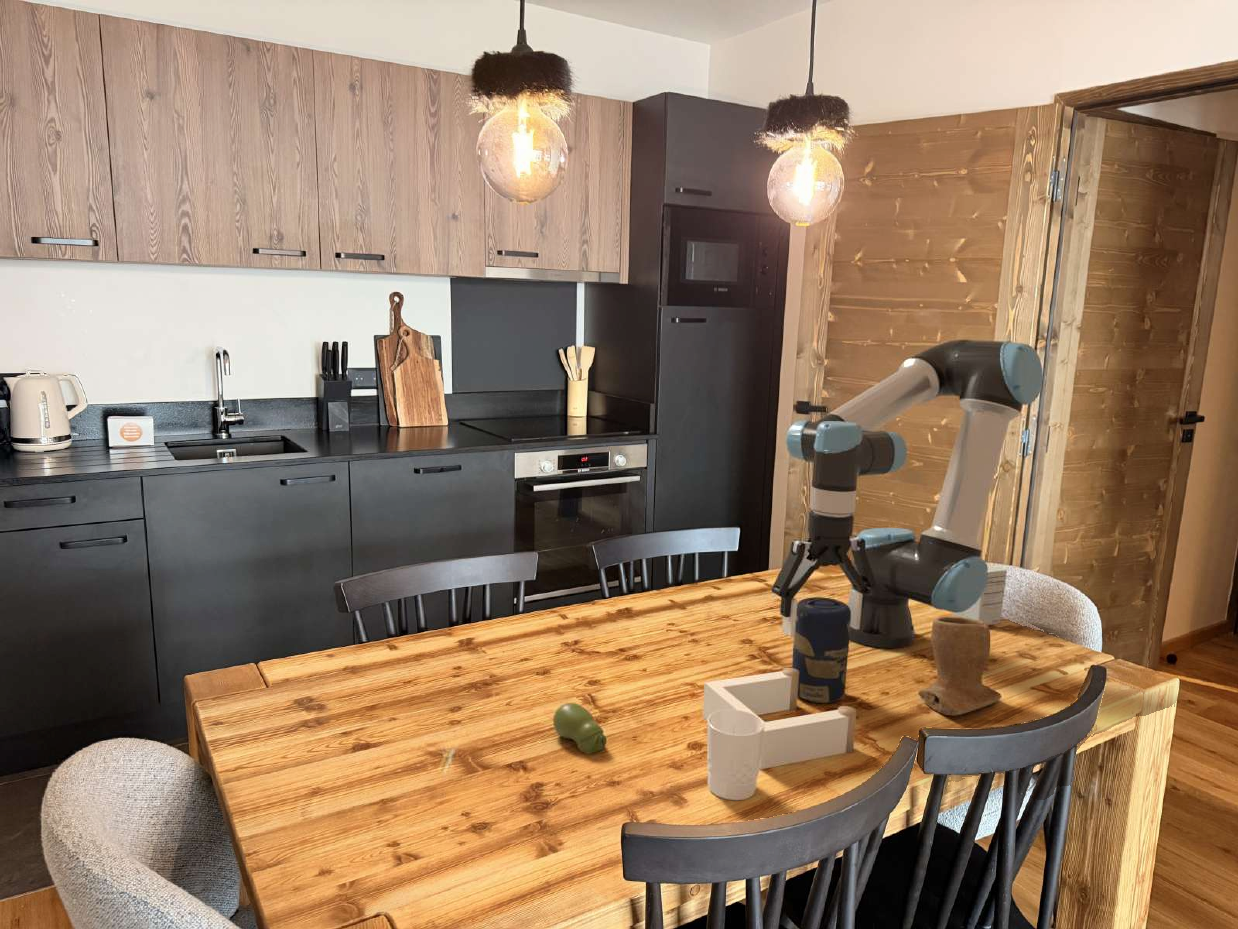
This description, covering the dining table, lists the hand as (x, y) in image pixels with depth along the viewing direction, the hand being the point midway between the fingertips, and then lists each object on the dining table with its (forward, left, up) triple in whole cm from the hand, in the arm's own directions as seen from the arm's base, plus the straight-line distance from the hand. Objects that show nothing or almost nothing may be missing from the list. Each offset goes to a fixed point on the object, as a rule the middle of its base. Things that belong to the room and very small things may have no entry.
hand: (820, 630), depth 152 cm
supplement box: (-59, -22, -12) cm, 65 cm away
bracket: (+14, +10, -12) cm, 21 cm away
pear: (+45, +2, -12) cm, 47 cm away
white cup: (+30, +22, -12) cm, 39 cm away
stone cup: (-22, +10, -12) cm, 27 cm away
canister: (0, 0, -12) cm, 12 cm away
